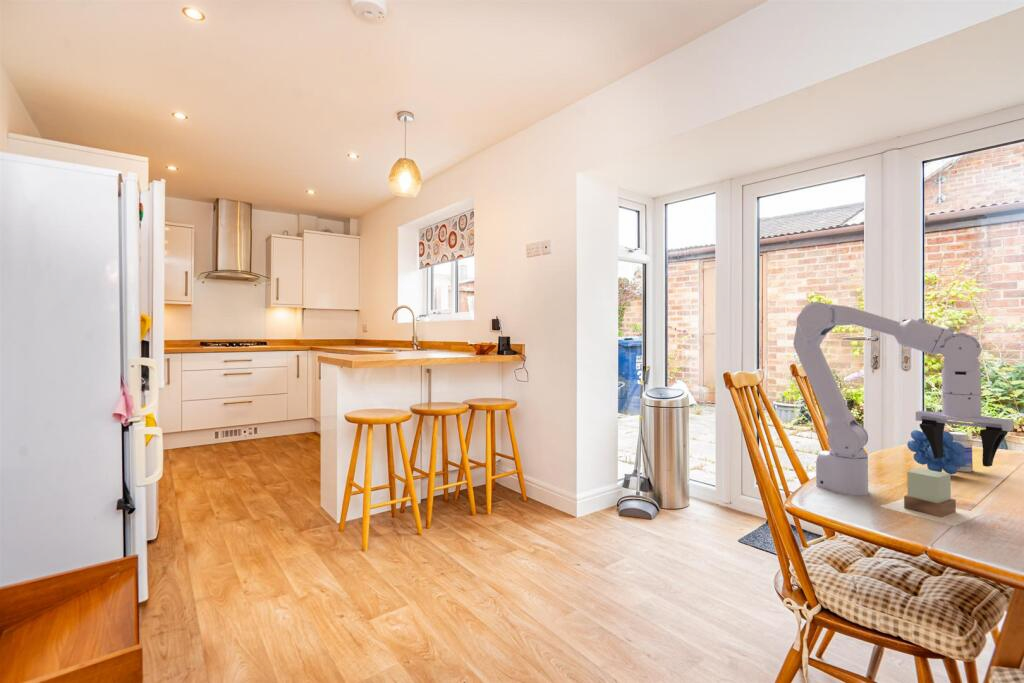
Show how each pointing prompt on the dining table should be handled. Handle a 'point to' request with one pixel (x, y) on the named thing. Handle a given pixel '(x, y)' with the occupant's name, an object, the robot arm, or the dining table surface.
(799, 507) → the dining table surface
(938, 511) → the walnut base block
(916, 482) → the sage block
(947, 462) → the blue flower
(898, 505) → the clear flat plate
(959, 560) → the dining table surface
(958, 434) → the pill bottle
